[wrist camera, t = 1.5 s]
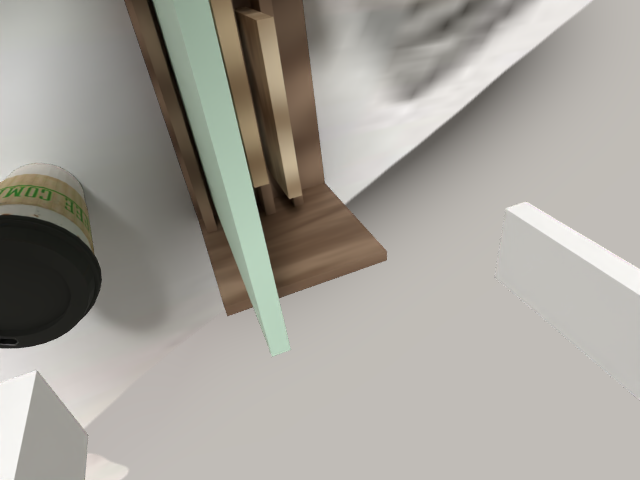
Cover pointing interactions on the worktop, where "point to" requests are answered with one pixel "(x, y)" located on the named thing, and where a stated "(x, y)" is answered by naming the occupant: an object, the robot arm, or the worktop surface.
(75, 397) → the worktop surface
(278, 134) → the offcut birch
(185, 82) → the sheet
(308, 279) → the rack
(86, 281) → the coffee cup
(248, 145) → the offcut oak
